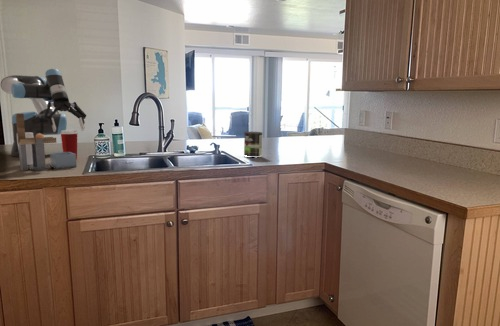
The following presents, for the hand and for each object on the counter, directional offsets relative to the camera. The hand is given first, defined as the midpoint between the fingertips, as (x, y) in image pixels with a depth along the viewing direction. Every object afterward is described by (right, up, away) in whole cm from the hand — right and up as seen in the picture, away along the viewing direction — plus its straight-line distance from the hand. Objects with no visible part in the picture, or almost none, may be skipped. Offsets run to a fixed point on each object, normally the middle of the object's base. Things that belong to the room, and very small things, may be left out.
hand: (69, 129), depth 190 cm
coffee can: (+94, -14, +25) cm, 98 cm away
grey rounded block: (+5, -18, -17) cm, 25 cm away
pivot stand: (-2, -19, -24) cm, 31 cm away
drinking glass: (-13, -18, -14) cm, 26 cm away
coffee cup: (0, -15, +2) cm, 15 cm away
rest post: (-6, -20, -28) cm, 35 cm away
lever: (-2, -8, -26) cm, 27 cm away
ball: (-1, -7, -25) cm, 26 cm away
